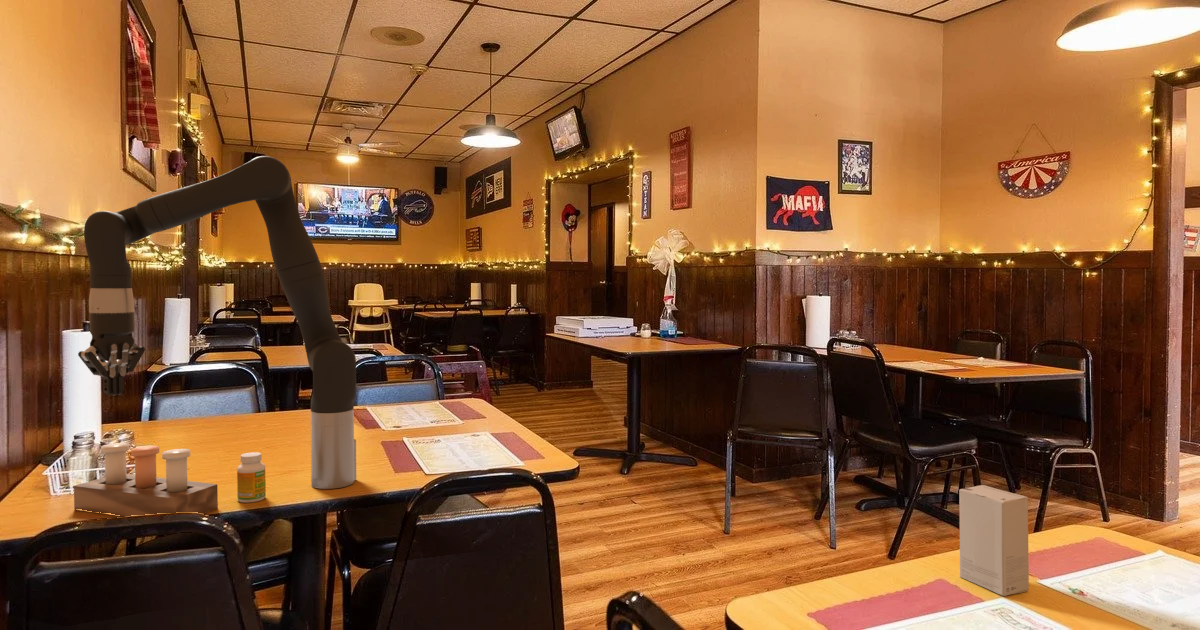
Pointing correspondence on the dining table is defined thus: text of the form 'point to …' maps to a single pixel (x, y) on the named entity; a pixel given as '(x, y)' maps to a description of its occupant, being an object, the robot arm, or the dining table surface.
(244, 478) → the supplement bottle
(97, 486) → the walnut socket board
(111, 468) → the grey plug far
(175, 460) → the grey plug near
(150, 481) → the terracotta plug
